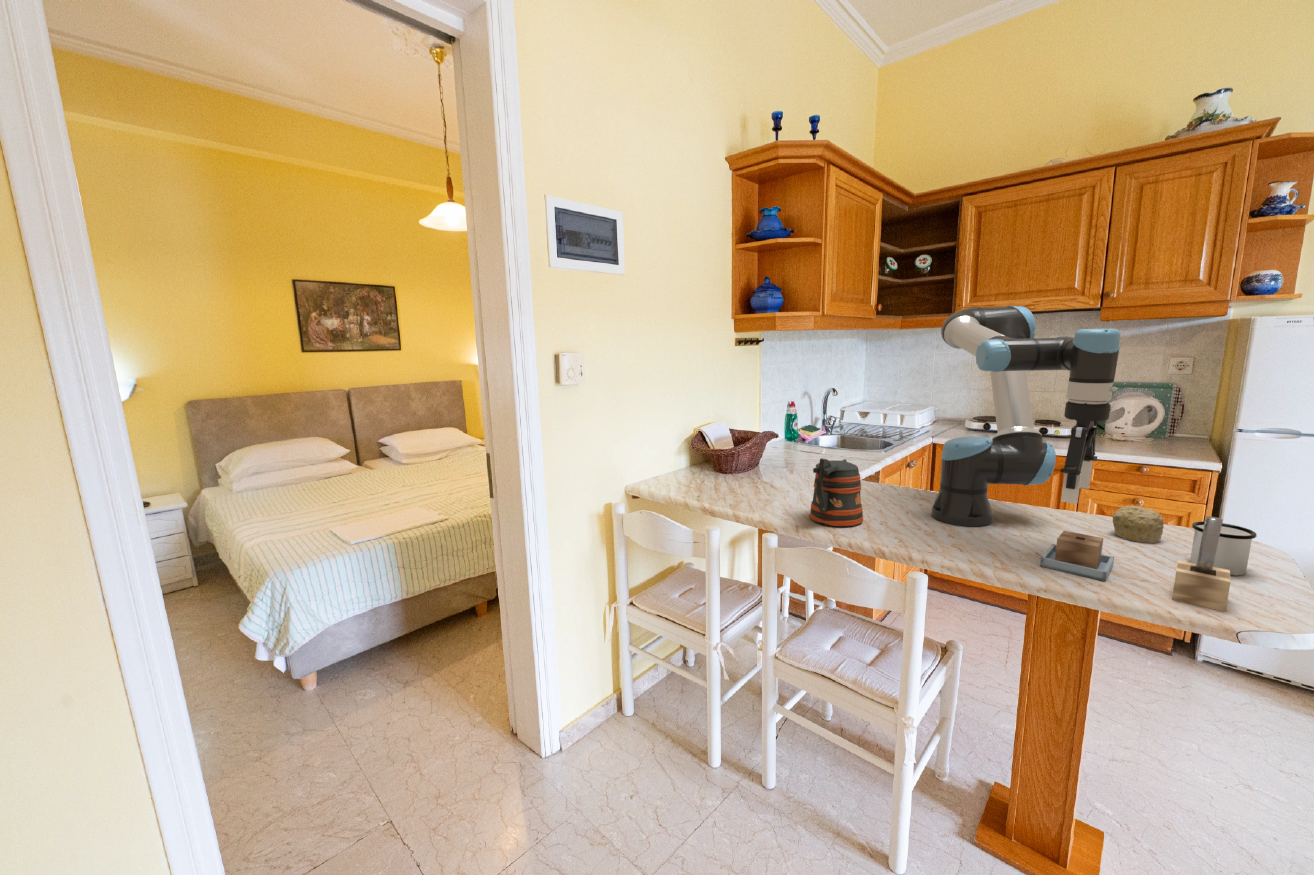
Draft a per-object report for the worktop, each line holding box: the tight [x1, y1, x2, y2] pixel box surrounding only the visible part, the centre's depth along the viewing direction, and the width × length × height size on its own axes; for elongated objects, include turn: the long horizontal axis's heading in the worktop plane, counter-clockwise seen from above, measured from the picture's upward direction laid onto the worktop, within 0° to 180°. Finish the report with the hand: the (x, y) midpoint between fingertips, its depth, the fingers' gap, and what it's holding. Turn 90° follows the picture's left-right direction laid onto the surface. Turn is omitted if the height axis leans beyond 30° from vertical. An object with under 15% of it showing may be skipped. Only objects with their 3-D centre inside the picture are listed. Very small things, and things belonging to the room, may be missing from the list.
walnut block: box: [1055, 530, 1104, 569], centre depth 115 cm, size 7×7×6 cm
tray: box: [1039, 543, 1115, 582], centre depth 115 cm, size 11×11×2 cm
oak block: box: [1171, 559, 1231, 613], centre depth 99 cm, size 7×7×6 cm
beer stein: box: [809, 458, 864, 528], centre depth 147 cm, size 19×15×20 cm
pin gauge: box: [1195, 515, 1224, 575], centre depth 98 cm, size 2×2×15 cm
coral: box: [1112, 505, 1165, 544], centre depth 130 cm, size 9×9×8 cm
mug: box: [1189, 520, 1258, 577], centre depth 112 cm, size 12×10×9 cm
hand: (1075, 494), depth 116 cm, fingers open, 13 cm apart
